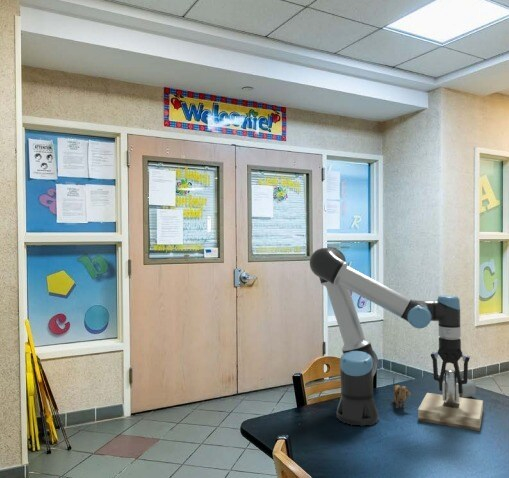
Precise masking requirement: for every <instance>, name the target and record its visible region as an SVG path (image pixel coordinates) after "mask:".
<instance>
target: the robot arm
mask: <svg viewBox="0 0 509 478" xmlns="http://www.w3.org/2000/svg"><path fill="white" fill-rule="evenodd" d="M309 267H310V270H311V272H312V273H313V274H314V275H315V276H316V277H318V278H319V281H320V284H321V285H322V286H324V287H325V288H326V290H327V291H326V292H327V293H328V294H327V295H328V297H329V300H330V304H331V306H332V310H333V312H334V317H335V320H336V323H337V326H338V328H339V329H338V330H339V332H340V335H341V338H342V341H343V346H342V348H341V351H342V355H341V357H340V361H339V367H340V368H339V369H340V399H339V401H338V406H337V408H336V418H338V419H339V420H340V421H342V422H345V423H347V424H346V425H348V424H352V425H364V426H363V427H366V426H365V425H370V426H373V425H375V423H376V424H377V423H379V421H378V420H380V419H379V418H380V417H379V416H380V415H379V411H378V409H377V405H376V403H375V399H374V376H375V375H376V372H377V370H378V368H379V367H378V366H379V359H378V356H377V353H376V351H374V350H373V347H372V344H371V340H368V339H366V337H365V334H364V331H363V328H362V325H361V322H360V318H359V315H358V312H357V309H356V305H355V303H354V300H353V297H352V294H351V292H353V293H354V294H357V295H358V296H360V297H363V299H365V300H368V301H370V302H371V303H373V304H375V305H377V306H379V307H380V308H383V309H385V310H386V311H388V312H390V313H392V314H393V315H396V316H398V317H399V318H401V319H402V320H404V321H406V322H408V323H409V324H410V325H411V327H413V328H415V329H425V328H427V327H428V326H429V325H430V323H431V322H437V323H438V336H439V337H438V350H437V351H435V352H431V353H430V357H431V359H432V371H433V380H434V381H437V382H438V383H439V384H438V385H439V388H438V390H439V392H440V391H441V392H442V395H443V401H445V370H447V369H446V368H447V364H449V363H450V364H453V368H454V370H455V373H456V379H457V381H458V383H457V384H456V403H459V393H462V385H463V384H467V381H468V379H469V377H468V376H469V373H468V372H469V361H470V359H471V356H470V355H465V354H463V351H462V342H461V341H462V340H461V337H462V336H461V334H462V333H461V304H460V303H461V302H460V298H459V297H458V296H457V295H456V296H455V295H450V294H449V295H448V294H447V295H442V294H441V295H439V296H438V297H437V300H418V299H417V300H415V299H411V298H410V297H407V296H405V295H404V294H402V293H400V292H398V291H396V290H394V289H393V288H390V287H388V286H387V285H385V284H384V283H381V282H379V281H377V280H375V279H373V278H371V277H369V276H368V275H366V274H364V273H362V272H360V271H358V270H356V269H354V268H352V267H350V266H349V265H348V263H347V260H346V256H345V254H344V253H343V252H342V250H340V249H338V248H336V247H331V246H328V247H321V248H318V249H317V250H315V251H314V252H313V253H312V254H311V256H310V259H309ZM439 357H440V359H441V360H442V363H441V369H440V373H439V369H438V358H439ZM461 358H462V361H463V377H462V375H461V370H460V366H459V361H460V359H461ZM462 379H463V380H462ZM338 419H337V420H338ZM339 420H338V421H339ZM340 421H339V422H340ZM342 422H341V423H342ZM352 425H351V426H352Z"/></svg>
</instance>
